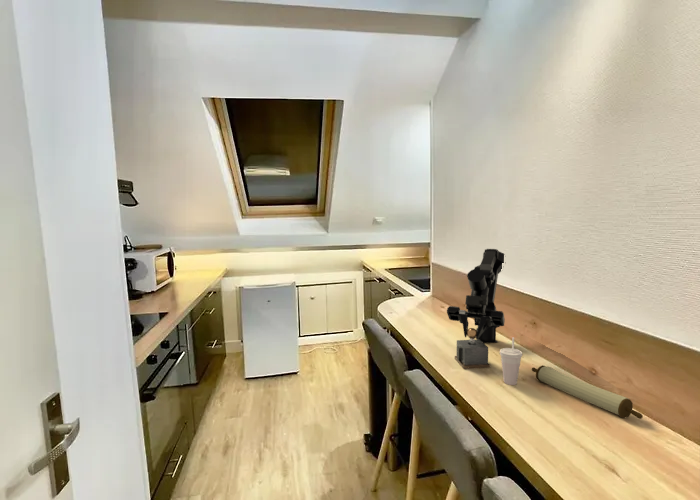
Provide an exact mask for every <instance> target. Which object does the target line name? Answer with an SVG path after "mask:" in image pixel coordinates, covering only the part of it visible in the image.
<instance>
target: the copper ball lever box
mask: <svg viewBox="0 0 700 500" xmlns="http://www.w3.org/2000/svg"><path fill="white" fill-rule="evenodd" d="M454 360H455V361H456V363H457V364H459V366H460V367H461V368H462V369H463V370H464V369H465V370H467V369H468V370H469V369H470V370H471V369H485V368H486V369H487V368H488V369H489V368H491V364H490V363H489V346H488V345H486V343H483V342H482V341H480V340H479V339H478V340H477V339H474V345H470V339H456V355H454Z"/></svg>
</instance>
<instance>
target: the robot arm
mask: <svg viewBox="0 0 700 500" xmlns="http://www.w3.org/2000/svg"><path fill="white" fill-rule="evenodd" d="M504 255H505V253H503V252H502V251H499V250H498V249H497V248H486V249H484V251H483V253H482V260H481V262H480V264H479V265H477V266H474V269H471V270H470V271H469V272H468V273H467V274H466V276H467V281H468V285H469V287H470V289H471V292H470V294H469V295H466V296H465V305H466V306H465V310H463V309H461V308H460V306H453V305H449V306H448V307H447V309H446V314H447V316H448V320H450V321H454V322H456V321H457V322H459V323H460V324H462V327H463V336H464V338H467V337H468V336H467V330H468V329H469V318H470V319H473V321H474V322H473V323H474V326H477V327H476V328H475V329H476V330H477V337H476V338H475V340H478V339H479V340H480V341H482V342H483V343H484V344H495V343H498V342H499V341H498V340H497V338H496V336H497V328H500V327H505V320H506V319H505V314H504V312H503V311H502V310H497V307H496V305H495V299H496V290H497V285H498V284H497V283H498V278H499V274H500V273H501V272H502V271H501V269H502V263H504Z"/></svg>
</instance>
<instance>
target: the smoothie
mask: <svg viewBox="0 0 700 500" xmlns="http://www.w3.org/2000/svg"><path fill="white" fill-rule="evenodd" d="M511 338H512V339H511V347H504V348H500V350H499V355H500V358H501V359H500V361H501V368H502V369H501V370H502V378H503V379H502V380H503V383H504V384H506V385H510V386H515V385H517V384H518V379H519V378H518V377H519V372H520V366H521V360H522V357H523V352H522V351H521V350H520V349H518V348H515V336H514V337H511Z"/></svg>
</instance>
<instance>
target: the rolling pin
mask: <svg viewBox="0 0 700 500" xmlns="http://www.w3.org/2000/svg"><path fill="white" fill-rule="evenodd" d="M531 371H532V372H533V373H535V379H536V380H537V381H538V382H540V383H541V382H542V383H544V384H547V385H549V386H551V387H553V388H556V389H557V390H559V391H563V392H564V393H567V394H569V395H570V396H574V397H576V398H578V399H580V400H582V401H584V402H586V403H589V404H591V405H594V406H596V407H598V408H601V409H604V410H606V411H609V412H611V413H613V414H616V415H618V416H619V418H621V419H625V417H626V418H628V417H629V416H630V415H633V416H634V417H636V418H637V419H643V417H644V416H643V414H642V413H641V412H639V411H636V410H633V408H634V406H633V401H632V400H631V399H630V398H628V397H626V396H623V395H620V394H618V393H615V392H612V391H609V390H607V389H603V388H601V387H598V386H595V385H593V384H591V383H588V382H585V381H583V380H580V379H578V378H575V377H573V376H569V375H567V374H564V373H562V372H560V371H559V370H557V369H555V368H554V367H551V366H547V365H540V366H539V367H538V368H537V367H532V368H531Z"/></svg>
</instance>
